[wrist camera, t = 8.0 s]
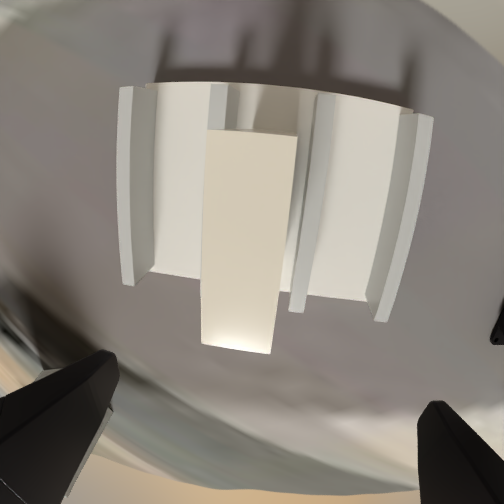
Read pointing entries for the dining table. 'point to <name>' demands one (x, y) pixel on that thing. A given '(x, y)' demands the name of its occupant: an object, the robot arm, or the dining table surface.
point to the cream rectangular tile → (244, 234)
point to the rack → (303, 189)
